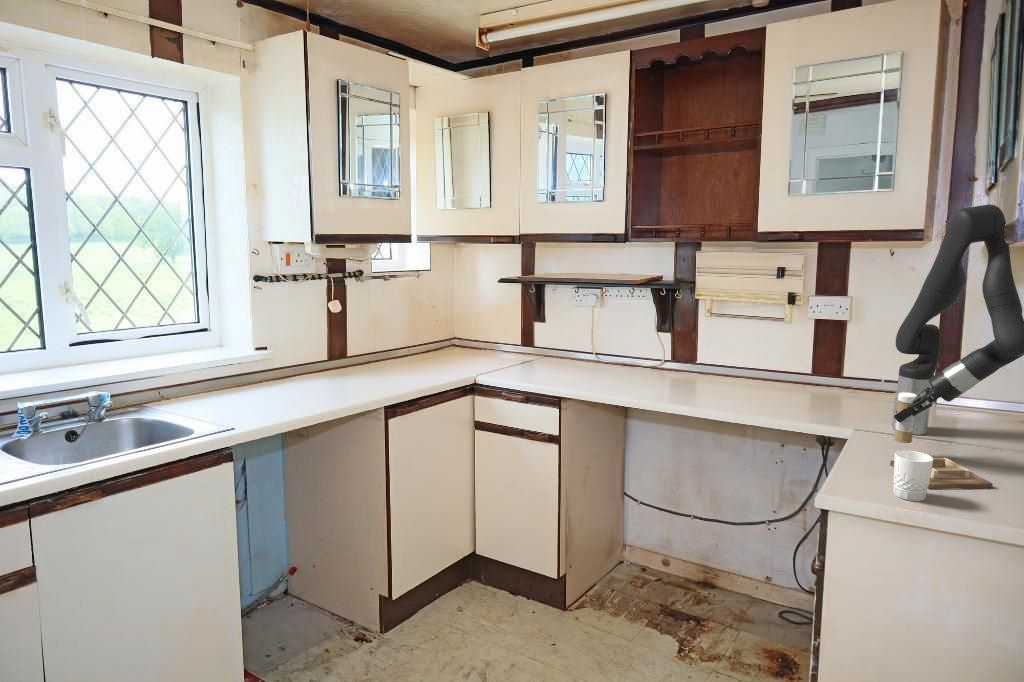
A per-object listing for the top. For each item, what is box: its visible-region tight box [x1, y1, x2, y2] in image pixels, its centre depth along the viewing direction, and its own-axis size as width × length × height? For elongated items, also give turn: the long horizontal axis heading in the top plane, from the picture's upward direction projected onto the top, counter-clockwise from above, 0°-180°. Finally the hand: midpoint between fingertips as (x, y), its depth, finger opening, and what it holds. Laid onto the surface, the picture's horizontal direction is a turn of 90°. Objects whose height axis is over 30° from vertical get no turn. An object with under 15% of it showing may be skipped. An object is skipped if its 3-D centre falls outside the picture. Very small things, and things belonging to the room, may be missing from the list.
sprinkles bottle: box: [893, 392, 918, 444], centre depth 188 cm, size 5×5×13 cm
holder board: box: [889, 457, 993, 490], centre depth 175 cm, size 16×16×3 cm
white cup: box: [892, 449, 934, 502], centre depth 162 cm, size 8×8×10 cm
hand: (897, 416), depth 189 cm, fingers closed on sprinkles bottle, 4 cm apart
